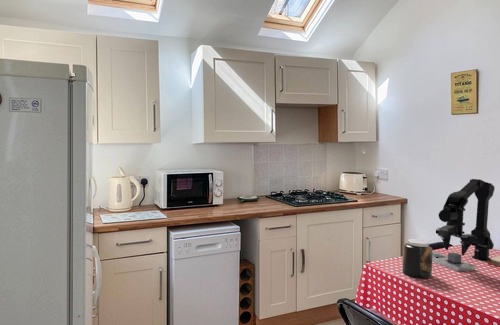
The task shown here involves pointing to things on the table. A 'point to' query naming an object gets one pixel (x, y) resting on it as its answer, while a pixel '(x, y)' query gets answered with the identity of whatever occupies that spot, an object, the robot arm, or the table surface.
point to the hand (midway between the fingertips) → (454, 252)
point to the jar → (417, 259)
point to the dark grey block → (454, 258)
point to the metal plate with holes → (457, 267)
